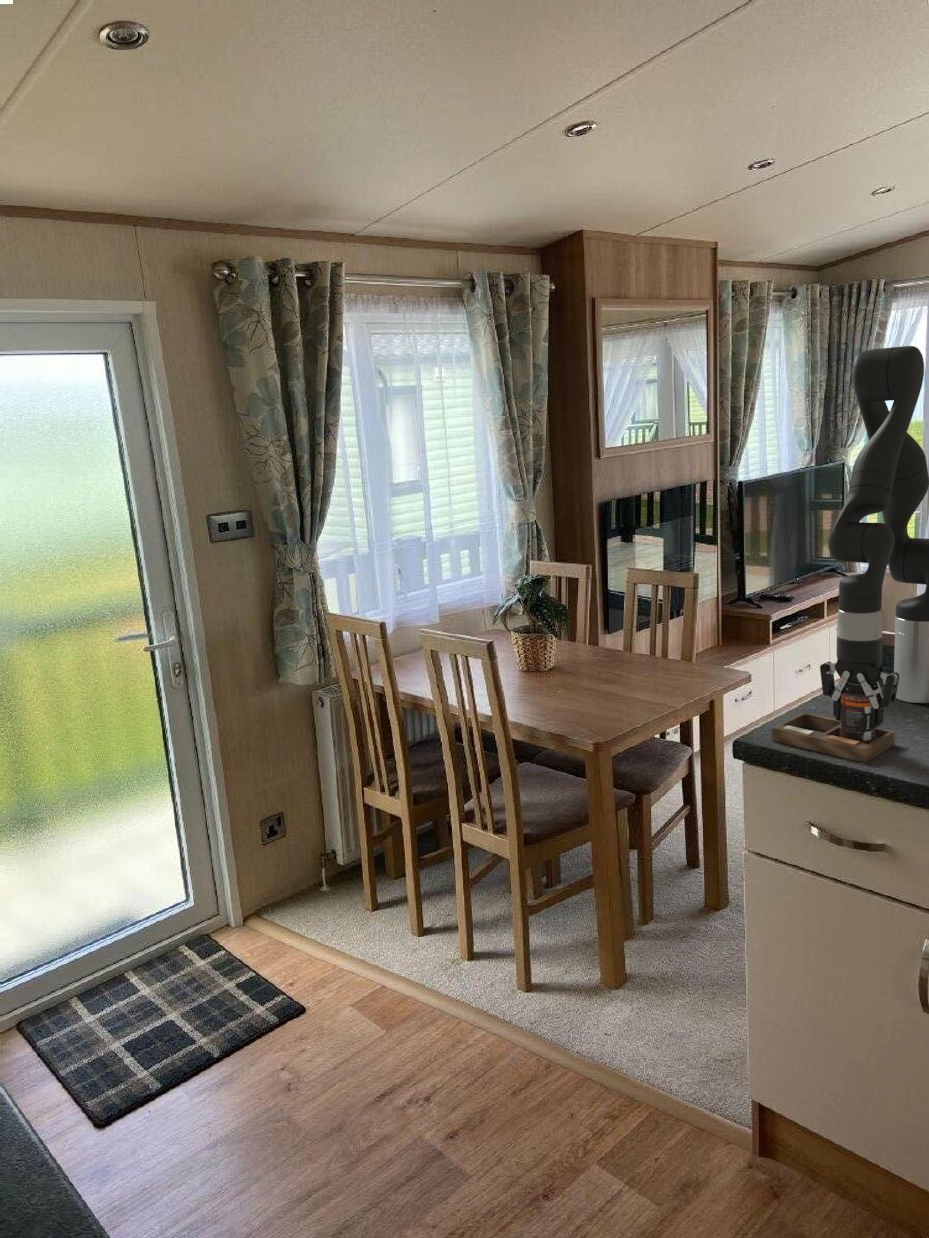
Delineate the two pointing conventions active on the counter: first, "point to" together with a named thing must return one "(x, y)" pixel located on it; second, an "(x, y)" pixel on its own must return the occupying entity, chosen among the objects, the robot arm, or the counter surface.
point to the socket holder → (830, 738)
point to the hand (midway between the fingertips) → (857, 722)
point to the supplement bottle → (856, 715)
